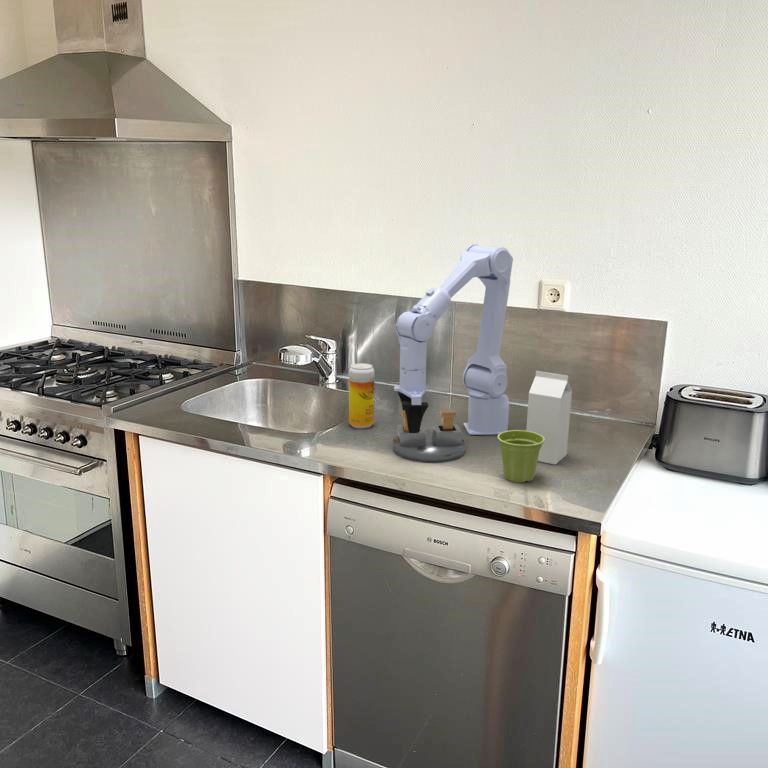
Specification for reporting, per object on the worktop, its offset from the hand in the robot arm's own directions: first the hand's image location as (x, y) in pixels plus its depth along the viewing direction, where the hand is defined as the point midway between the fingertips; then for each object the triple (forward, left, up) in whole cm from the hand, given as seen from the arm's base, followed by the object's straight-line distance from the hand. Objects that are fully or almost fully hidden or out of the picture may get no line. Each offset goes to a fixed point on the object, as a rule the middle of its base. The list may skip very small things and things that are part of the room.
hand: (411, 427), depth 169 cm
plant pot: (-20, +17, -6) cm, 27 cm away
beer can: (+10, -18, -6) cm, 21 cm away
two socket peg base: (-4, 0, -5) cm, 7 cm away
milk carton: (-29, +6, -6) cm, 30 cm away
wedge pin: (0, 0, -3) cm, 3 cm away
